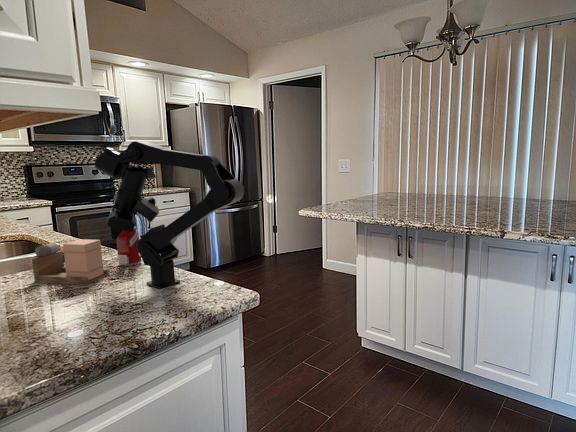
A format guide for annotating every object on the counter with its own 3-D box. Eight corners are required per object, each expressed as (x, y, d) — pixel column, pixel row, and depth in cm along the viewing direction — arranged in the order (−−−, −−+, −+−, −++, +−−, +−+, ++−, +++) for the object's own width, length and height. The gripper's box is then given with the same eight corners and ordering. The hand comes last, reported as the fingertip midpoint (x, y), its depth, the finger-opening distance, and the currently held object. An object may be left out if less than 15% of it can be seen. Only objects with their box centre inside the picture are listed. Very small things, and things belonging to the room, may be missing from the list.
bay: (109, 274, 110) (105, 242, 109) (86, 285, 102) (82, 250, 100) (58, 271, 114) (55, 241, 113) (32, 281, 106) (28, 248, 104)
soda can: (126, 268, 116) (122, 230, 114) (114, 265, 120) (111, 228, 118) (145, 263, 122) (142, 226, 120) (134, 260, 126) (131, 224, 124)
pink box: (104, 273, 109) (100, 239, 107) (88, 280, 103) (84, 244, 101) (83, 272, 110) (79, 239, 109) (66, 279, 105) (62, 244, 103)
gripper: (163, 208, 94) (143, 262, 98) (161, 185, 110) (145, 232, 114) (116, 195, 89) (97, 252, 93) (121, 173, 105) (105, 222, 109)
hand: (114, 238), depth 102 cm, fingers closed
